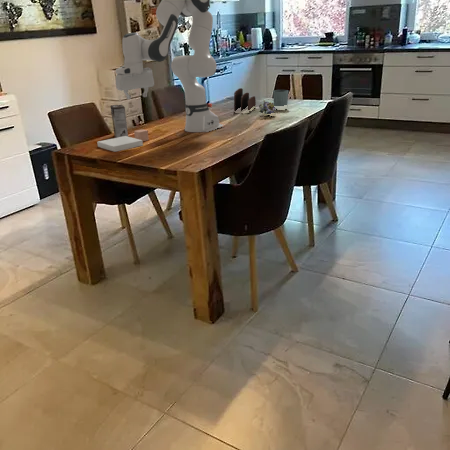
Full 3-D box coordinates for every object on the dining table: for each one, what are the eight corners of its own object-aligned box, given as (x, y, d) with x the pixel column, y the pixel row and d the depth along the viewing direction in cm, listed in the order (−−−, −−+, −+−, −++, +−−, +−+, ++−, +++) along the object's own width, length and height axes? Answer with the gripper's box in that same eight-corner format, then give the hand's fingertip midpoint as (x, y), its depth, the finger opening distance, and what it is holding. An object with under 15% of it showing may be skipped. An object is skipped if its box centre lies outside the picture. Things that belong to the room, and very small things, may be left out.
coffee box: (113, 135, 257) (109, 105, 251) (125, 134, 259) (122, 104, 253) (116, 138, 249) (112, 107, 243) (128, 137, 251) (124, 106, 245)
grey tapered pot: (273, 110, 307) (273, 91, 302) (272, 108, 316) (272, 89, 312) (288, 110, 307) (289, 91, 302) (287, 107, 316) (287, 89, 311)
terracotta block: (143, 138, 247) (142, 129, 245) (148, 140, 244) (147, 130, 242) (135, 140, 244) (134, 131, 242) (140, 142, 241) (139, 132, 239)
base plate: (125, 140, 244) (125, 135, 243) (143, 145, 233) (142, 140, 232) (97, 146, 234) (97, 141, 233) (114, 151, 223) (113, 146, 222)
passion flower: (271, 126, 290) (269, 112, 280) (255, 121, 294) (253, 107, 284) (279, 113, 294) (277, 99, 284) (264, 108, 298) (261, 94, 288)
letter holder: (234, 113, 305) (233, 91, 300) (241, 108, 323) (241, 86, 317) (249, 113, 302) (248, 91, 297) (256, 108, 320) (255, 86, 314)
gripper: (148, 66, 238) (150, 95, 244) (112, 70, 226) (116, 99, 231) (155, 67, 234) (157, 96, 239) (119, 70, 222) (122, 101, 227)
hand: (137, 98), depth 235 cm, fingers open, 8 cm apart
